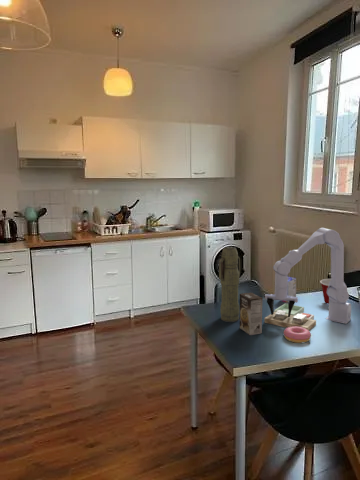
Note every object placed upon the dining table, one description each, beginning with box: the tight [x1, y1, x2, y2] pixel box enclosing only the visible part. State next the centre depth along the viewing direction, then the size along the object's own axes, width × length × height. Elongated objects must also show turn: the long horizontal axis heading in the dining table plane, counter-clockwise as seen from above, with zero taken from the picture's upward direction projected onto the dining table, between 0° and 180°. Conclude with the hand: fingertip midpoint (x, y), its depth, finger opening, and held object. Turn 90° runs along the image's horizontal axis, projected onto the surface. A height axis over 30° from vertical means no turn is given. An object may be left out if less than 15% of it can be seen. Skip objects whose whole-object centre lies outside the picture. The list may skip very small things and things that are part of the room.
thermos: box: [218, 246, 241, 323], centre depth 173 cm, size 9×12×35 cm
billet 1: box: [275, 310, 286, 321], centre depth 170 cm, size 4×6×5 cm, turn 155°
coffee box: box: [239, 292, 263, 336], centre depth 160 cm, size 9×6×16 cm
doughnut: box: [283, 326, 312, 344], centre depth 152 cm, size 11×11×4 cm
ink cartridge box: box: [279, 276, 297, 304], centre depth 201 cm, size 10×6×14 cm, turn 138°
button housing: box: [300, 312, 315, 320], centre depth 172 cm, size 6×6×2 cm
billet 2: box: [293, 314, 307, 325], centre depth 164 cm, size 4×6×5 cm, turn 141°
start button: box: [302, 312, 312, 318], centre depth 172 cm, size 4×4×2 cm
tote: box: [274, 303, 305, 316], centre depth 181 cm, size 10×13×2 cm
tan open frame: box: [264, 312, 317, 331], centre depth 167 cm, size 20×11×2 cm, turn 51°
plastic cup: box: [319, 278, 331, 305], centre depth 195 cm, size 11×11×12 cm
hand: (280, 315), depth 169 cm, fingers open, 7 cm apart
